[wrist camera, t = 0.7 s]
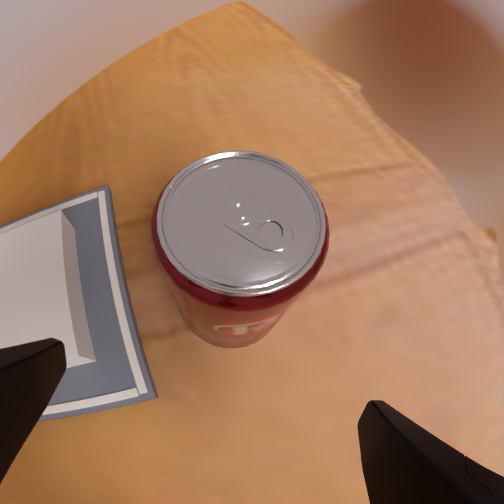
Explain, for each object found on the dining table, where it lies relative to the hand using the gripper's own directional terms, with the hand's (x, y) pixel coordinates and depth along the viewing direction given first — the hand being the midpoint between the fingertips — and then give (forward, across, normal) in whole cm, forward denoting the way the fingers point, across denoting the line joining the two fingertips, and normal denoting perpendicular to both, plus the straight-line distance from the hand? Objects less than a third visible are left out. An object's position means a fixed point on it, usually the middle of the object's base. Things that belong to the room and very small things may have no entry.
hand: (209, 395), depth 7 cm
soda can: (+15, 0, +3) cm, 15 cm away
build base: (+12, +16, +7) cm, 21 cm away
